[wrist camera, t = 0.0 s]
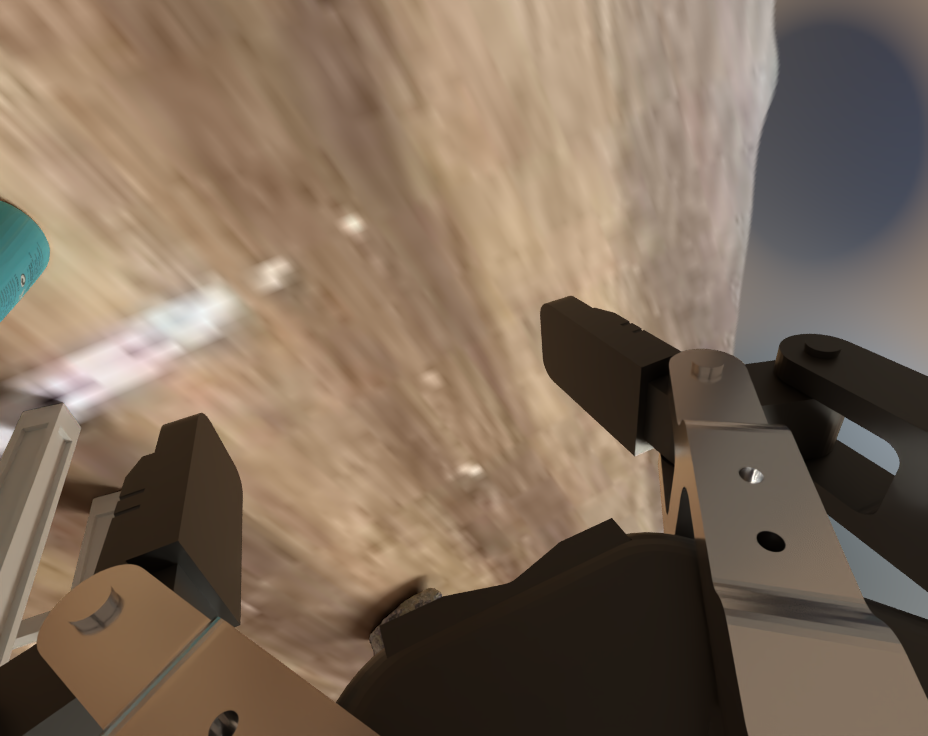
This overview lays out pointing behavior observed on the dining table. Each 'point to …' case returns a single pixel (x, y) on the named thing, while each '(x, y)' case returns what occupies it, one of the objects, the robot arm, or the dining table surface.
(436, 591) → the mineral rock
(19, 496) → the stool
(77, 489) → the dining table surface
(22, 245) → the tube
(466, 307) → the dining table surface
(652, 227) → the dining table surface
